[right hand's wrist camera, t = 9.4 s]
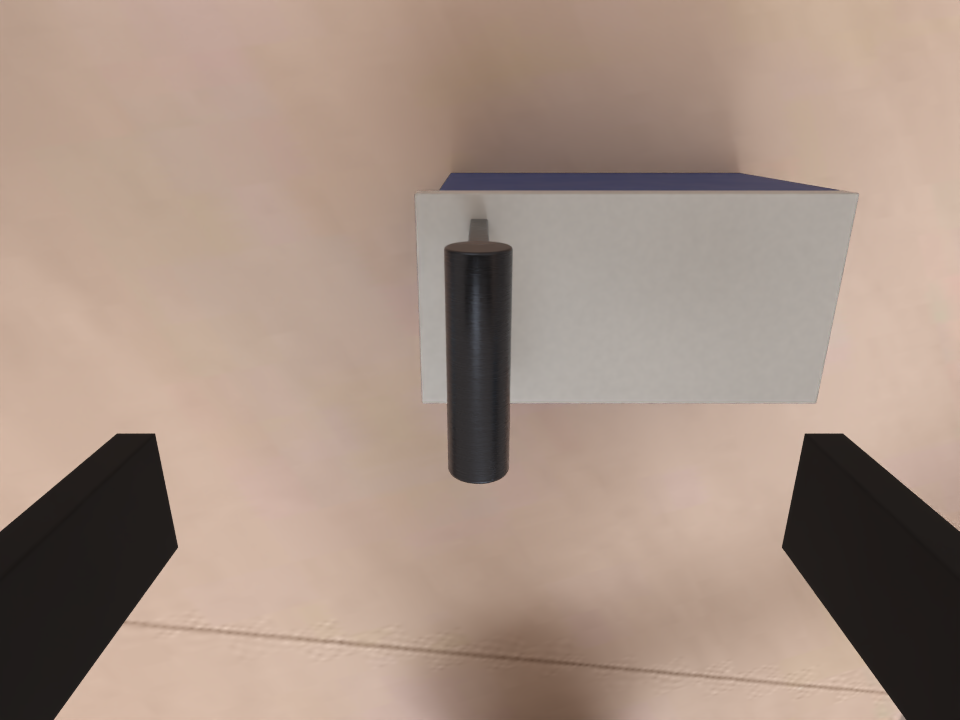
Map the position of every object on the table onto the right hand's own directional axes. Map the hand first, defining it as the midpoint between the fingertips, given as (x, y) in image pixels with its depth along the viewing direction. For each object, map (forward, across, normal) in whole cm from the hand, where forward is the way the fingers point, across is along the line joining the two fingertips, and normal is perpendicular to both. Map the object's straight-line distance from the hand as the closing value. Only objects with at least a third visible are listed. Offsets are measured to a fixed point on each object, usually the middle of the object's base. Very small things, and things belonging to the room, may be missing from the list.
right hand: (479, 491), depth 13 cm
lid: (+16, +6, 0) cm, 17 cm away
